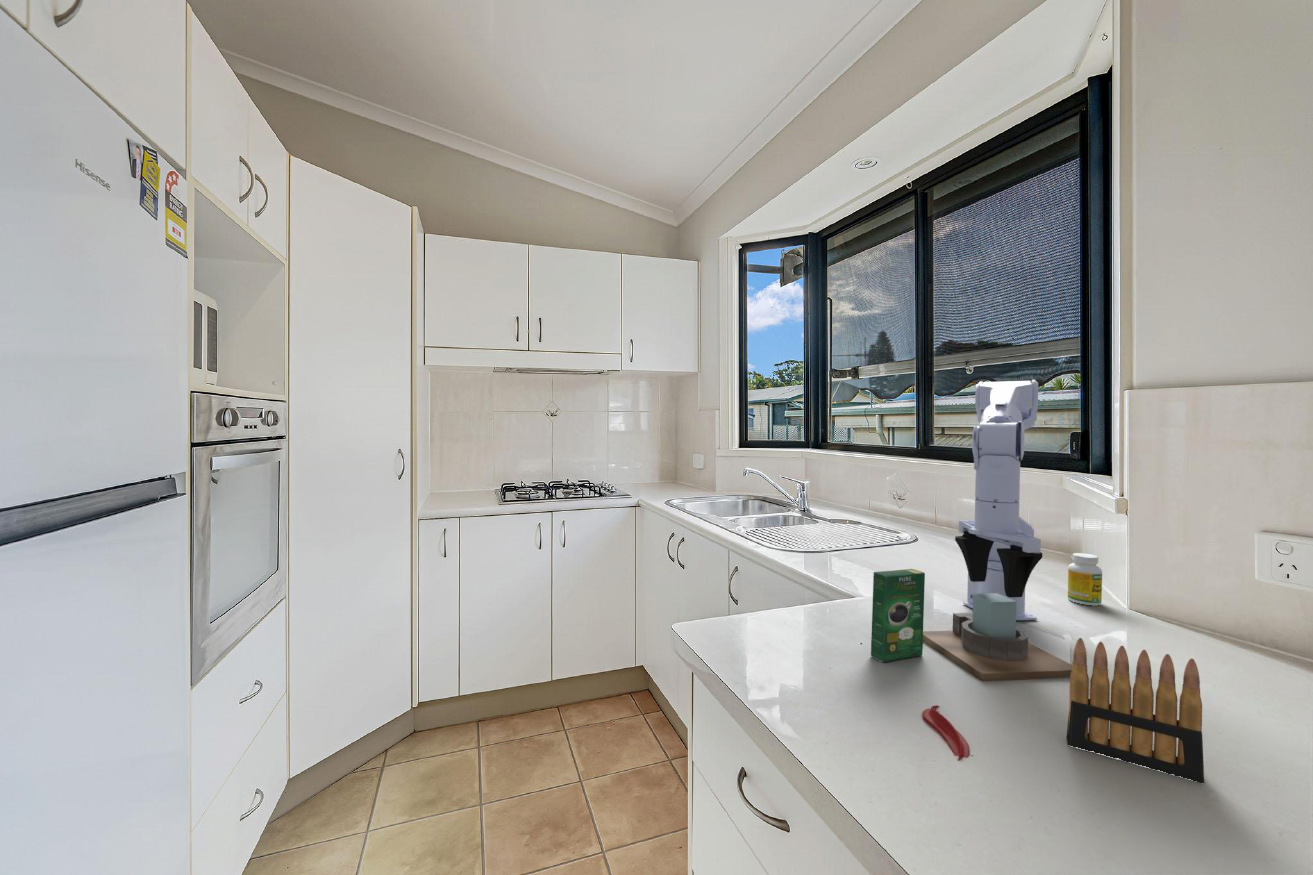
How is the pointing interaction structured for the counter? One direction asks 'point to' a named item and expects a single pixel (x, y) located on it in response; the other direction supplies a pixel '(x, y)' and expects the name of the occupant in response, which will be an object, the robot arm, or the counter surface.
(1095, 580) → the supplement bottle
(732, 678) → the counter surface
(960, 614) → the cup bracket
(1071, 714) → the ammunition clip
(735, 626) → the counter surface
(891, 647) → the coffee box
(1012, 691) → the counter surface
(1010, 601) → the blue-gray rectangular block
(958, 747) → the cayenne pepper
